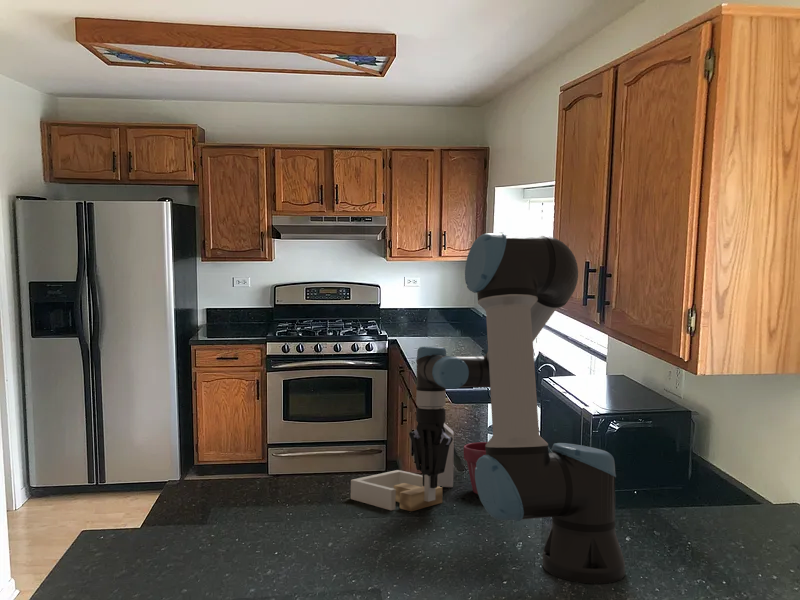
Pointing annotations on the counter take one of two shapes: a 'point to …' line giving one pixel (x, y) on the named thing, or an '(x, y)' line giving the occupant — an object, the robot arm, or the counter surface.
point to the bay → (382, 487)
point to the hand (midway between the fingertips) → (429, 500)
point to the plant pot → (474, 459)
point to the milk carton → (447, 463)
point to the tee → (415, 497)
